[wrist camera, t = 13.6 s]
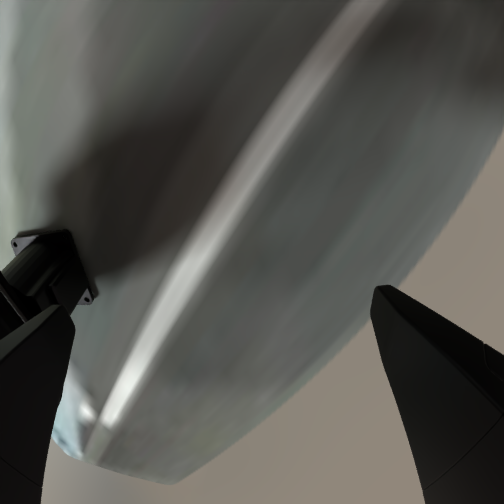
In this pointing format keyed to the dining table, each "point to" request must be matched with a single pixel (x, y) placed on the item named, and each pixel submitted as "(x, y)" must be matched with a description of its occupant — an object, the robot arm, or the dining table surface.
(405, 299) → the robot arm
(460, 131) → the dining table surface
